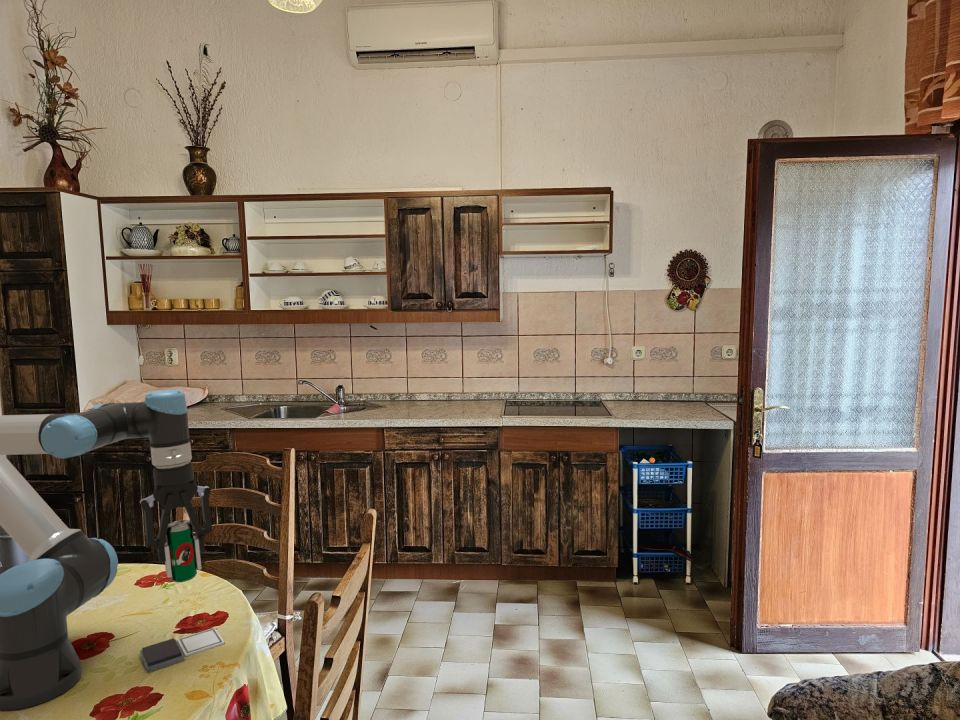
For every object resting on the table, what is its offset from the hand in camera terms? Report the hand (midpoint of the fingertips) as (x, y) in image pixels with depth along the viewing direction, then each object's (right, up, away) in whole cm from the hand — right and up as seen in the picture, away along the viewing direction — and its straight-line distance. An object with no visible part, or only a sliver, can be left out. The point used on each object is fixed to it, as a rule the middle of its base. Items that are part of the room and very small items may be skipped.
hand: (183, 571), depth 133 cm
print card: (+2, -17, +5) cm, 18 cm away
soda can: (0, -2, 0) cm, 2 cm away
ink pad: (-4, -18, -1) cm, 18 cm away
